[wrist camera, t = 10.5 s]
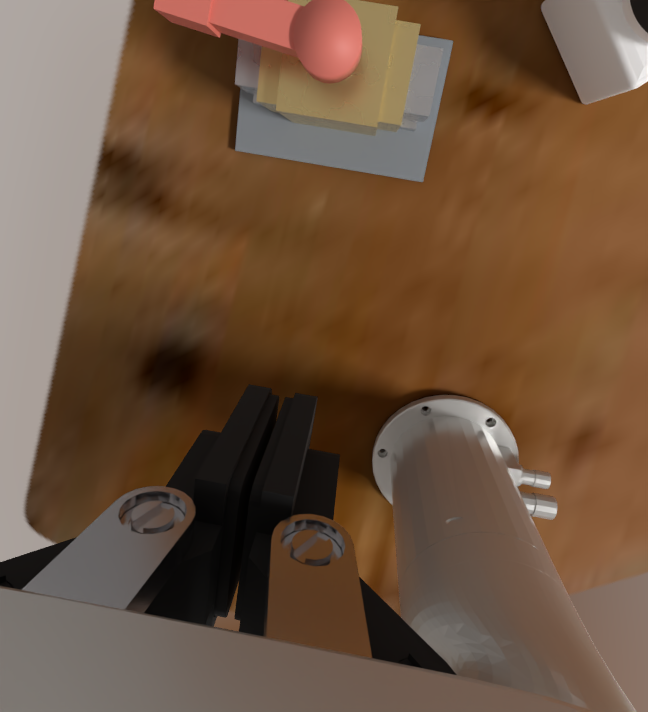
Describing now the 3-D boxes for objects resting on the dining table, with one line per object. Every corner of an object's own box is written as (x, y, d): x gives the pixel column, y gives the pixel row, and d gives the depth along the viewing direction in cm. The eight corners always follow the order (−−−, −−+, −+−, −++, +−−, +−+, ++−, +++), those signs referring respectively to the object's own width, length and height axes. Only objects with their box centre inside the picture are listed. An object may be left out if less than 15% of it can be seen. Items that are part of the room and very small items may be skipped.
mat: (451, 43, 34) (453, 40, 33) (422, 181, 37) (422, 182, 36) (249, 10, 34) (247, 7, 33) (237, 150, 37) (235, 150, 37)
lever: (351, 91, 26) (349, 84, 24) (169, 33, 25) (151, 21, 23) (370, 22, 25) (371, 8, 22) (180, -40, 24) (163, -60, 22)
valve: (436, 47, 33) (462, -2, 24) (416, 143, 35) (433, 132, 26) (261, 18, 34) (221, -40, 24) (251, 115, 36) (211, 95, 27)
